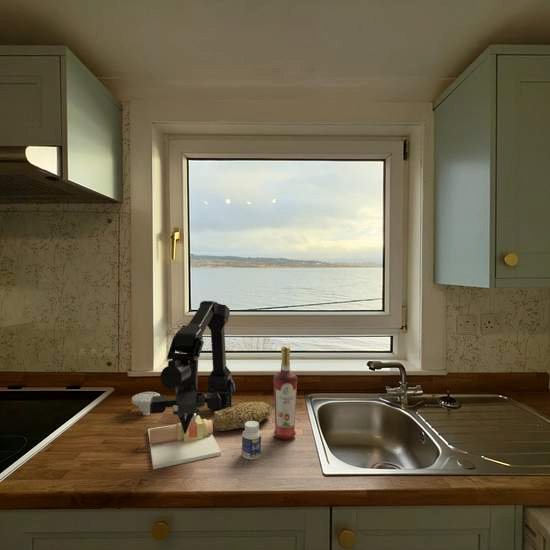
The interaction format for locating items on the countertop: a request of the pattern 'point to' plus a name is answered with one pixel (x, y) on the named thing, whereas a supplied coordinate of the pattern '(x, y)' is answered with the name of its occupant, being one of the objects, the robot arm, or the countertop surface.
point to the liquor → (285, 398)
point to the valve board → (182, 444)
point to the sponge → (240, 415)
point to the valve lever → (193, 427)
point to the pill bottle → (251, 440)
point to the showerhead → (144, 401)
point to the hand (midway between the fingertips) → (185, 433)
